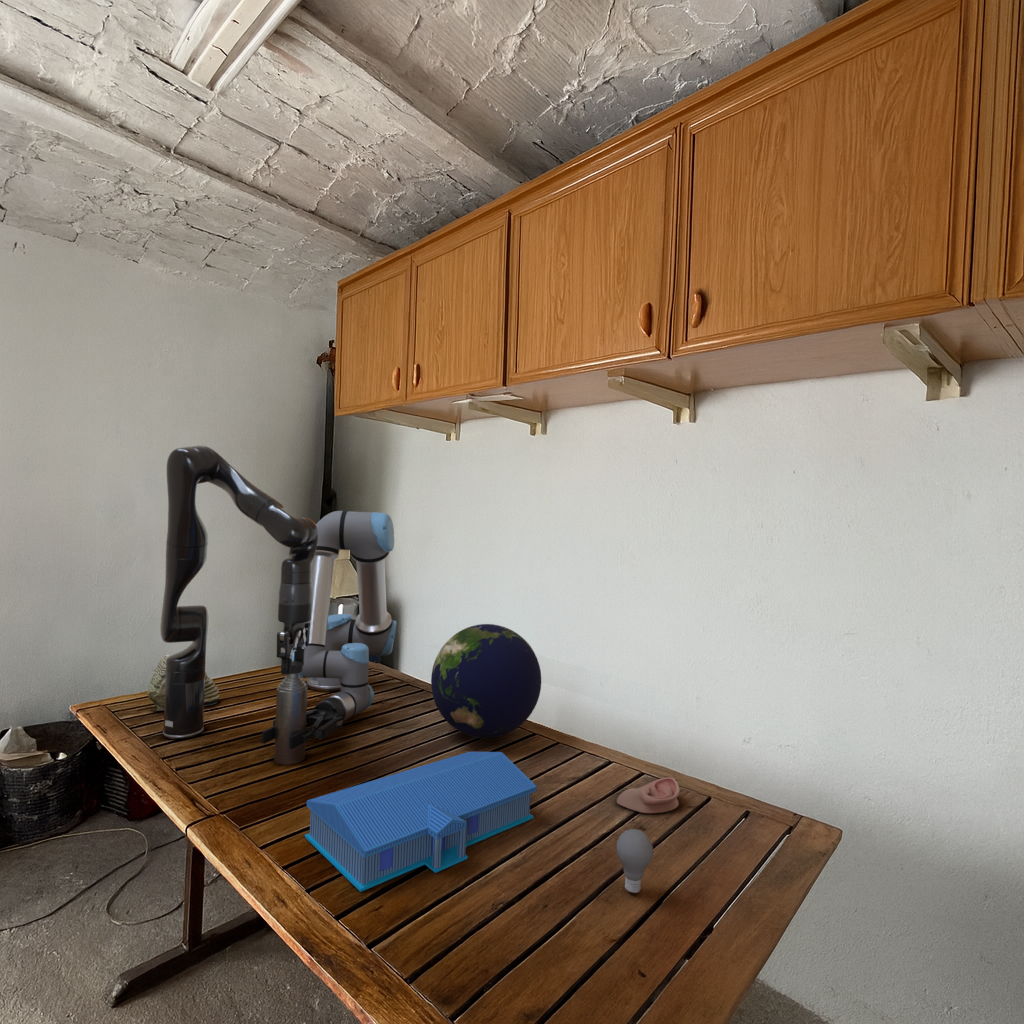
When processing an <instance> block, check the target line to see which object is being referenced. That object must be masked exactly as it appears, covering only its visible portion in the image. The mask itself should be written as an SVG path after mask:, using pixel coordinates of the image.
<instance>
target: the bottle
mask: <svg viewBox="0 0 1024 1024" xmlns="http://www.w3.org/2000/svg"><path fill="white" fill-rule="evenodd" d="M303 679H304V678H301V677H300V676H299V673H297V674H289V675H286V676H284V678H283V679H282V681H280V683H279V684H278V685H277V687H276V698H275V699H276V701H275V719H276V723H275V738H274V750H273V751H274V753H273V762H274V763H276V764H277V765H282V766H291V765H296V764H300V763H301V762H303V761H304V760H305V758H306V742H304V743H302V744H300V745H299V746H297V747H295V748H293V749H289V737H291V736H293V735H294V734H296V733H298V732H300V731H302V730H304V729H306V728H307V727H306V724H307V723H306V715H307V712H308V711H307V710H308V689H309V688H308V687H307V682H306V681H304V680H303Z"/></svg>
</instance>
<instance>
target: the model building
mask: <svg viewBox="0 0 1024 1024" xmlns="http://www.w3.org/2000/svg"><path fill="white" fill-rule="evenodd" d="M537 789H538V788H537V785H536V784H535V783H534V782H533V781H532V780H531V779H530V778H529V777H528V776H527V775H526V774H525V773H524V772H523V771H522V770H521V769H520V768H519V767H518V766H517V765H516V764H515V763H513V761H511V759H510V758H509V757H507V755H505V754H504V752H502V751H468V752H464V753H460V754H457V755H454V756H450V757H447V758H444V759H441V760H437V761H434V762H431V763H427V764H424V765H421V766H418V767H414V768H411V769H407V770H404V771H400V772H398V773H394V774H390V775H387V776H384V777H381V778H377V779H374V780H371V781H366V782H364V783H360V784H357V785H354V786H350V787H347V788H344V789H341V790H340V789H339V790H337V791H334V792H330V793H327V794H324V795H321V796H320V795H319V796H316V797H314V798H310V799H308V800H306V807H307V808H308V809H309V811H310V817H309V819H310V820H309V822H310V823H309V832H308V833H306V834H304V838H305V839H306V840H307V841H308V842H309V843H310V844H311V845H312V846H313V847H314V848H315V849H316V850H317V851H318V852H319V853H320V854H321V855H322V856H323V857H324V858H325V859H326V860H327V861H328V862H329V863H330V864H331V865H332V866H334V868H335V869H336V870H338V872H339V873H340V874H342V875H343V876H344V877H345V879H346V880H348V881H349V882H350V883H351V884H352V885H353V886H354V887H355V888H356V889H357V891H359V892H360V893H363V892H364V891H366V890H370V889H371V888H373V887H375V886H378V885H381V884H382V883H385V882H388V881H389V880H392V879H394V878H397V877H400V876H402V875H404V874H406V873H409V872H410V871H413V870H416V869H418V868H420V867H423V866H426V867H427V868H429V870H431V871H432V872H433V873H435V874H437V873H439V872H441V871H443V870H445V869H448V868H450V867H452V866H455V865H457V864H459V863H461V862H463V861H466V860H469V859H468V857H469V856H468V855H467V854H466V848H467V847H469V846H472V845H474V844H476V843H479V842H482V841H484V840H486V839H488V838H490V837H493V836H496V835H497V834H500V833H502V832H505V831H506V830H507V831H508V830H510V829H512V828H513V827H516V826H519V825H521V824H524V823H526V822H528V821H530V820H533V819H534V815H533V814H531V813H530V812H531V811H530V810H531V794H533V793H535V792H537Z"/></svg>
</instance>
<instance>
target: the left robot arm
mask: <svg viewBox="0 0 1024 1024" xmlns="http://www.w3.org/2000/svg"><path fill="white" fill-rule="evenodd" d="M204 483H210V484H212V485H214V486H215V487H218V488H220V489H222V490H223V491H224V492H225V493H227V494H228V495H229V497H230V498H231V500H232V502H233V504H234V505H235V507H236V508H237V509H238V511H239V512H240V513H241V514H243V515H244V516H246V517H247V518H248V519H250V520H251V521H253V522H254V523H256V524H257V525H259V526H260V527H262V528H263V529H264V530H265V531H266V532H267V533H268V535H270V537H272V538H273V539H274V541H276V542H277V543H279V544H280V545H282V546H283V547H286V548H289V551H288V555H287V557H285V558H284V559H282V561H281V565H280V582H279V590H278V606H277V607H278V608H277V621H278V622H279V623H283V630H282V631H277V632H276V658H279V659H281V661H280V662H281V663H280V665H281V667H280V674H281V675H283V676H285V675H289V674H291V671H292V655H293V651H294V650H296V651H294V661H299V662H302V666H303V665H304V651H305V650H306V646H307V647H308V645H309V634H310V622H308V621H310V620H311V607H312V586H311V579H312V562H313V559H314V555H315V551H316V547H317V543H318V529H317V526H316V524H317V523H315V521H314V520H312V519H311V518H309V517H294V516H292V515H290V514H288V513H287V512H286V508H285V507H284V505H283V504H282V503H281V502H279V501H278V500H277V499H275V498H273V497H272V496H271V495H269V494H267V493H266V492H264V491H263V490H261V489H260V488H258V487H257V486H255V485H254V484H252V483H251V482H250V481H249V480H248V479H246V478H245V477H244V476H243V475H242V474H241V473H240V472H239V471H238V470H236V469H235V467H233V466H232V465H231V464H229V462H228V461H227V460H226V459H225V458H224V457H222V456H221V454H219V453H218V452H217V451H215V450H214V449H212V448H211V447H209V446H206V445H193V446H183V447H178V448H175V449H173V450H172V451H171V452H170V453H169V455H168V457H167V461H166V487H167V532H166V541H165V542H166V543H165V578H164V579H165V580H164V593H163V598H162V607H161V616H160V626H159V628H160V629H159V631H160V637H161V640H162V641H163V642H164V643H167V644H168V643H169V644H173V643H189V642H191V643H190V645H188V646H187V647H186V648H184V649H183V650H180V651H179V652H175V653H173V654H170V655H171V656H169V657H168V658H167V660H166V674H165V705H164V710H163V730H162V737H164V738H166V739H169V740H185V739H190V738H191V739H192V738H194V737H197V736H199V735H202V734H203V732H204V730H205V729H204V726H205V725H204V722H205V721H204V718H205V706H204V693H205V672H206V664H207V663H206V658H207V657H206V656H207V640H208V639H207V638H208V629H209V611H208V609H207V607H206V606H205V605H199V604H198V605H197V604H195V605H178V604H179V601H180V599H181V596H182V595H183V594H184V592H185V590H186V588H187V586H189V584H190V583H191V582H192V580H194V578H195V577H196V576H197V575H198V574H199V572H200V571H201V570H202V568H203V567H204V566H205V564H206V561H207V556H208V544H209V536H208V531H207V528H206V526H205V524H204V521H203V520H202V518H201V516H200V515H199V512H198V510H197V505H196V503H197V502H196V498H197V497H196V495H197V487H198V485H199V484H204Z"/></svg>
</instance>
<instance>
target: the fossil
mask: <svg viewBox="0 0 1024 1024" xmlns="http://www.w3.org/2000/svg"><path fill="white" fill-rule="evenodd" d="M171 655H172V654H165V655H164V656H163V657H162V658H161V659H160V660H159V662H158V663H157V666H156V667H155V669H154V670H153V672H152V675H151V677H150V680H149V684H148V688H147V697H148V699H149V700H150V701H152V703H153V704H154V706H155V711H158V712H159V711H162V712H163V711H164V705H165V674H166V660H167V658H168V657H169V656H171ZM220 698H221V696H220V690H219V688H218V686H217V685H216V683H215V682H214V681H213V679H212V678H211V677H209V675H208V674H207V672H206V671H205V693H204V707H207V706H213V705H215V704H217V703H218V701H219V699H220Z"/></svg>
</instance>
